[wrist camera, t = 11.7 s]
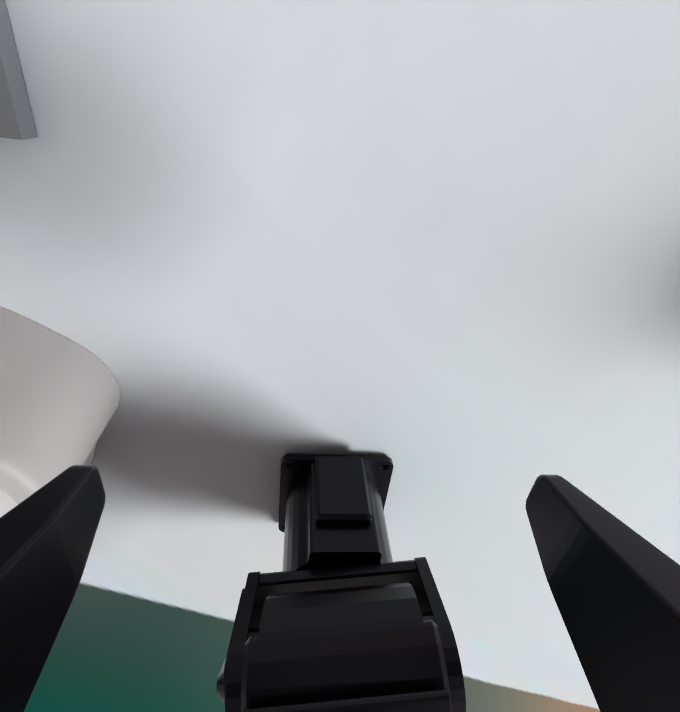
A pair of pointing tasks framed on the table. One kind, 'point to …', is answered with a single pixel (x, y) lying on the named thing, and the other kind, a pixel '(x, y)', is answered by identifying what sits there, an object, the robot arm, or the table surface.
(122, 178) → the table surface
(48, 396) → the lumpy-topped squat cylinder
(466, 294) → the table surface
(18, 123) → the charcoal mat
